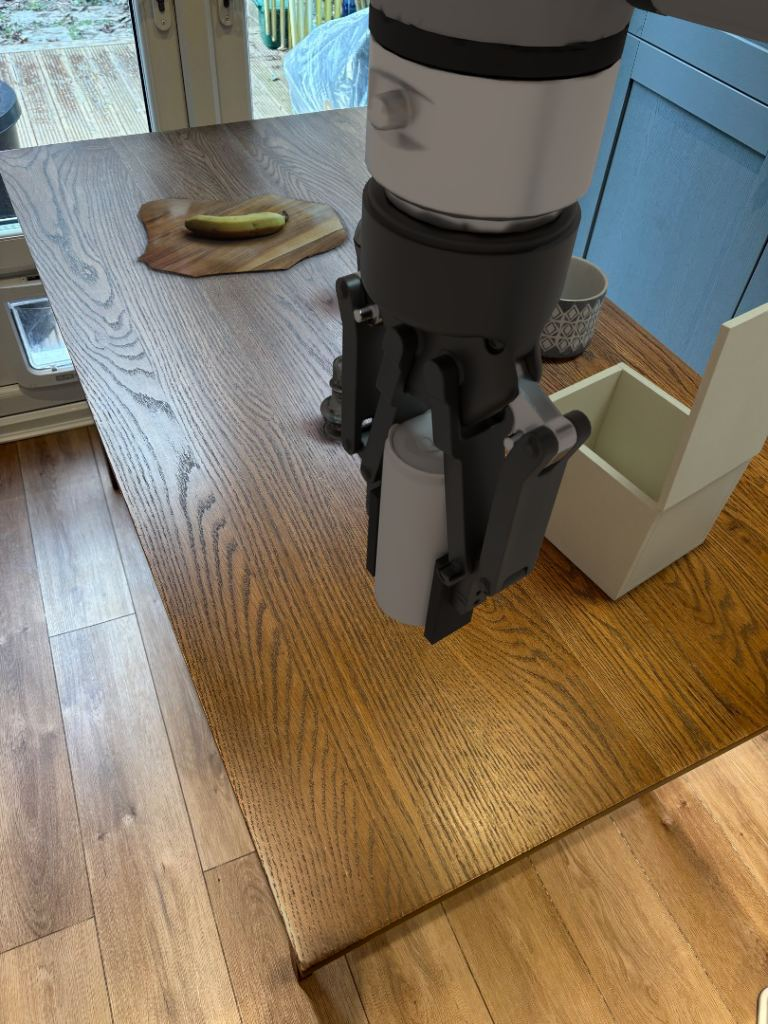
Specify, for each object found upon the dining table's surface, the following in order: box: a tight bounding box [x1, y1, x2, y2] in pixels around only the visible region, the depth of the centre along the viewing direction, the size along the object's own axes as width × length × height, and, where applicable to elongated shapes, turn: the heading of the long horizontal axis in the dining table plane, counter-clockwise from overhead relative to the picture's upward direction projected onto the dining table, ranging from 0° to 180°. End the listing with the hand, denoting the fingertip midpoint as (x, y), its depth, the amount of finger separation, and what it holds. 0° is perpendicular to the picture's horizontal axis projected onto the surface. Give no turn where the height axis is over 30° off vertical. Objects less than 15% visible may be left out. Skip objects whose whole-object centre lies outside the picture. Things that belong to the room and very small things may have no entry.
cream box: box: [544, 361, 753, 601], centre depth 82 cm, size 18×15×14 cm
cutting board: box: [136, 194, 347, 278], centre depth 126 cm, size 35×27×4 cm
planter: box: [540, 254, 610, 359], centre depth 108 cm, size 13×13×10 cm
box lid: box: [656, 302, 768, 512], centre depth 66 cm, size 19×15×1 cm
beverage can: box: [373, 409, 448, 627], centre depth 38 cm, size 5×5×12 cm
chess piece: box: [319, 354, 342, 445], centre depth 91 cm, size 6×6×12 cm
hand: (416, 594), depth 42 cm, fingers closed on beverage can, 5 cm apart
